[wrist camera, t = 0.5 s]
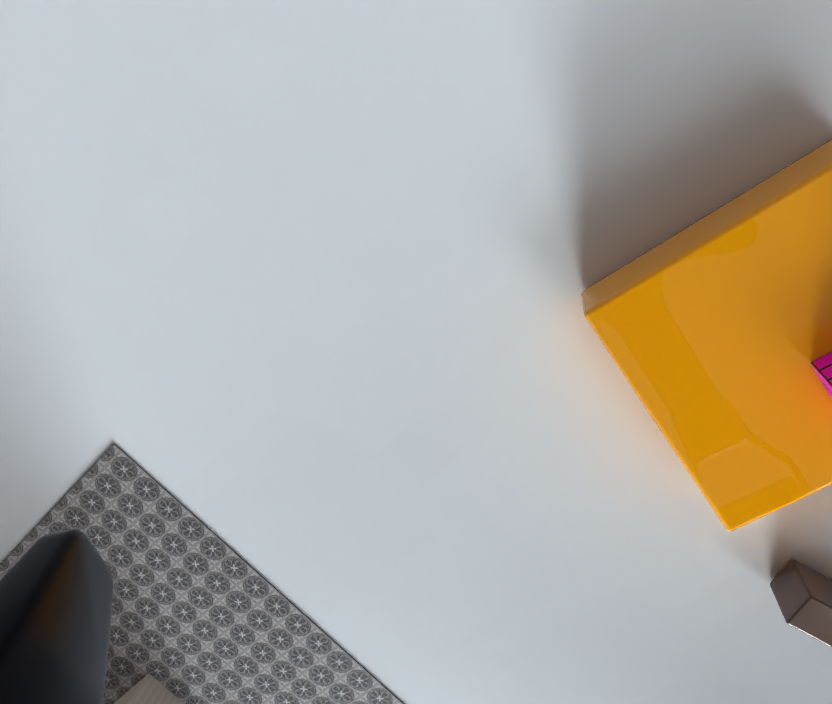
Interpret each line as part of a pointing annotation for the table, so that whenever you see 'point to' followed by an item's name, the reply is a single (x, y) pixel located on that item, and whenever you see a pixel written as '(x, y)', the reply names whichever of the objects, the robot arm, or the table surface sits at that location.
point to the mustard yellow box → (736, 341)
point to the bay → (805, 600)
